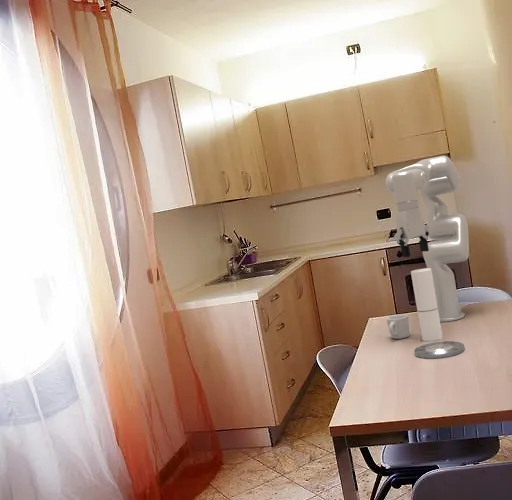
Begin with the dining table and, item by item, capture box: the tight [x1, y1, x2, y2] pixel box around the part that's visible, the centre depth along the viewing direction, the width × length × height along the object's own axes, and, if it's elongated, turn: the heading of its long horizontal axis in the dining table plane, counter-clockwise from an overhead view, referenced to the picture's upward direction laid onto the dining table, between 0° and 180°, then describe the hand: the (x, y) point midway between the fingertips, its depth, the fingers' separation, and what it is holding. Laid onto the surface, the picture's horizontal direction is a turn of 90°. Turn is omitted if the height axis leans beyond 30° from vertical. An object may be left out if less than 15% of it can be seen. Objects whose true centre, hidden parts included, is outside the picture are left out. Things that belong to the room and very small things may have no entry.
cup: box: [386, 313, 410, 340], centre depth 231 cm, size 11×8×8 cm
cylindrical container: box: [410, 267, 444, 342], centre depth 222 cm, size 7×7×25 cm
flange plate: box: [413, 340, 466, 360], centre depth 205 cm, size 16×16×1 cm
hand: (415, 253), depth 221 cm, fingers open, 9 cm apart
